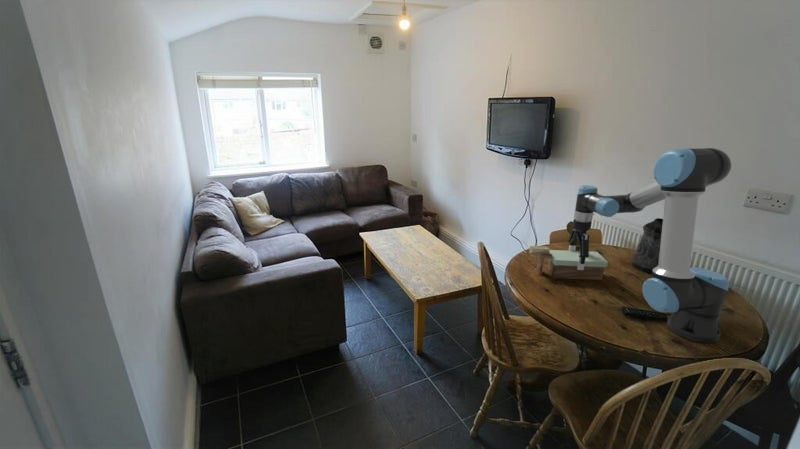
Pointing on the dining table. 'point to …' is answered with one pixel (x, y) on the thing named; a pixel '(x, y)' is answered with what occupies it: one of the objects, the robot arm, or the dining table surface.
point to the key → (539, 250)
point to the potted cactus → (569, 229)
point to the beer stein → (648, 247)
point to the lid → (576, 258)
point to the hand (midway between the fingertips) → (575, 263)
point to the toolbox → (569, 270)
